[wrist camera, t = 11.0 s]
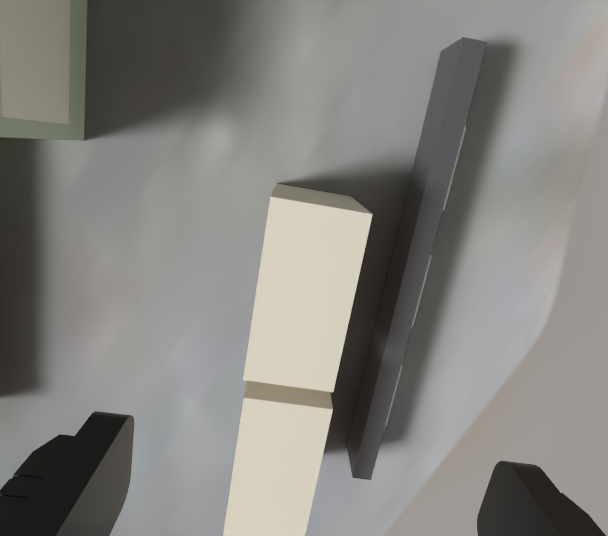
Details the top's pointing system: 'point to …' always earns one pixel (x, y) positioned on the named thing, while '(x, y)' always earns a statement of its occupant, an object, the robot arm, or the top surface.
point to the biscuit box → (305, 287)
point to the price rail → (414, 246)
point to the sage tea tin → (43, 69)
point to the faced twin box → (277, 460)
